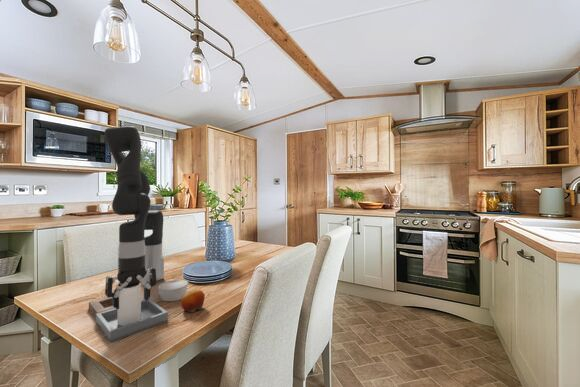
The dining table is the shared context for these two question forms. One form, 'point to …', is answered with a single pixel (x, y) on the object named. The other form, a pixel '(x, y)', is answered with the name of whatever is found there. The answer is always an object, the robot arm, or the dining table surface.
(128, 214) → the robot arm
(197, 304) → the fruit
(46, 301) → the dining table surface
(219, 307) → the dining table surface
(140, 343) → the dining table surface
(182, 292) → the ramekin
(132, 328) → the tray
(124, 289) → the can
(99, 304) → the square wooden frame
